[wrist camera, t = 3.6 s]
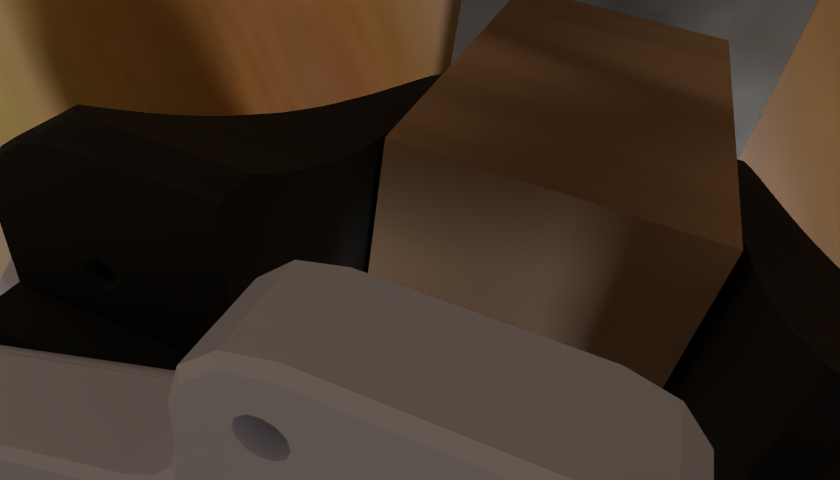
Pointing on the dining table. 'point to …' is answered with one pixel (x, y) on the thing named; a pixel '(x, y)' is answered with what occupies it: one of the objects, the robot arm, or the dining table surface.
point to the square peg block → (570, 182)
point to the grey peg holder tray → (707, 14)
